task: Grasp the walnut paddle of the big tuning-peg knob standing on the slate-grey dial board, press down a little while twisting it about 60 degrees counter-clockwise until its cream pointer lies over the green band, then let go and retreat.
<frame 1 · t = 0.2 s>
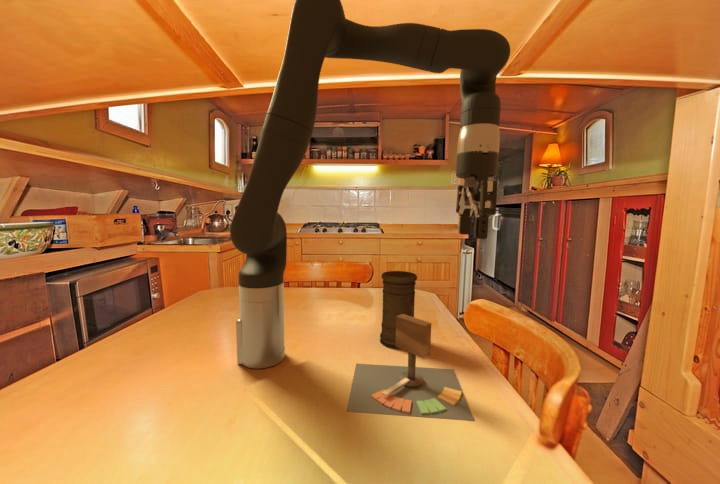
hand: (471, 236, 60), 28 cm above the table, fingers open, 8 cm apart
dial board: (406, 393, 55), on the table
container: (397, 346, 75), on the table
peg knob: (403, 355, 54), point 7 cm above the table, hinge at 0.0°
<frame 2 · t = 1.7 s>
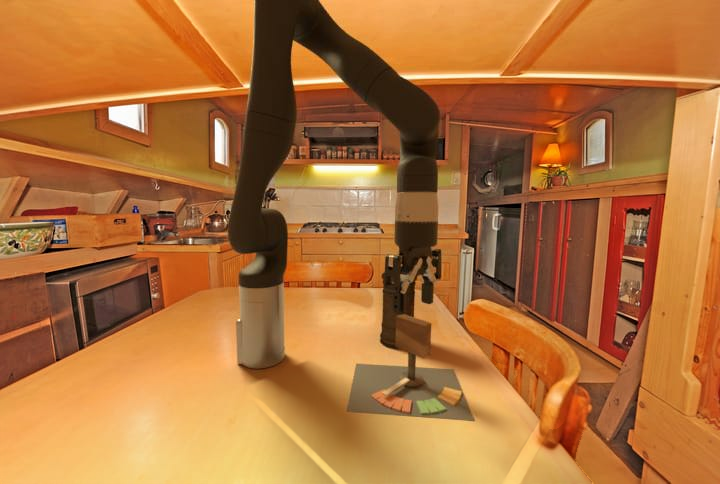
hand: (414, 308, 55), 16 cm above the table, fingers open, 8 cm apart
nothing on the table moved.
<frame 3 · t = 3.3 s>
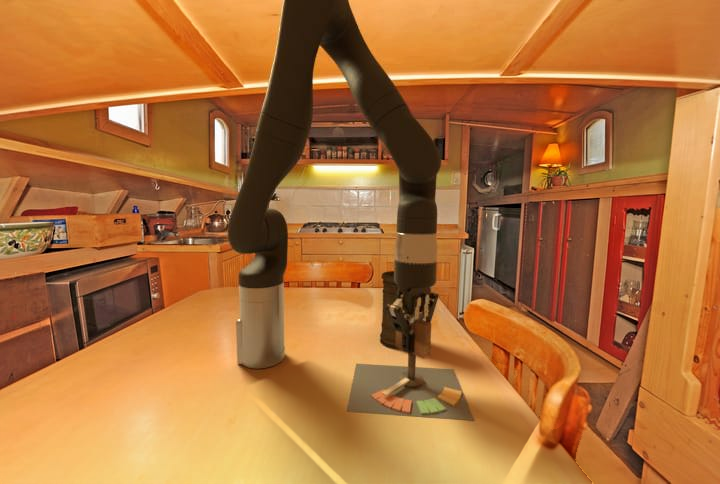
hand: (412, 349, 56), 8 cm above the table, fingers closed on peg knob, 2 cm apart
peg knob: (403, 355, 54), point 7 cm above the table, hinge at 0.0°, touching gripper
everything else where it was.
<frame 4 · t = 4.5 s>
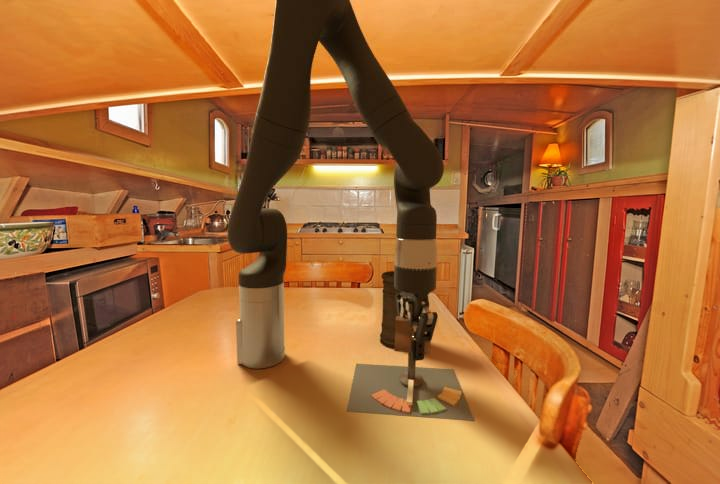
hand: (413, 353, 56), 7 cm above the table, fingers closed on peg knob, 3 cm apart
peg knob: (411, 357, 53), point 7 cm above the table, hinge at 33.4°, touching gripper
everything else where it was.
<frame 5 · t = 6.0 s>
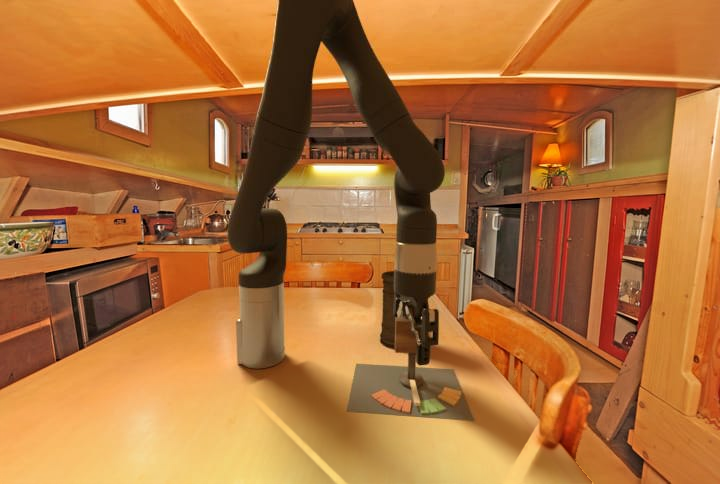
hand: (412, 352, 56), 7 cm above the table, fingers open, 8 cm apart
peg knob: (414, 357, 53), point 7 cm above the table, hinge at 43.0°
everything else where it was.
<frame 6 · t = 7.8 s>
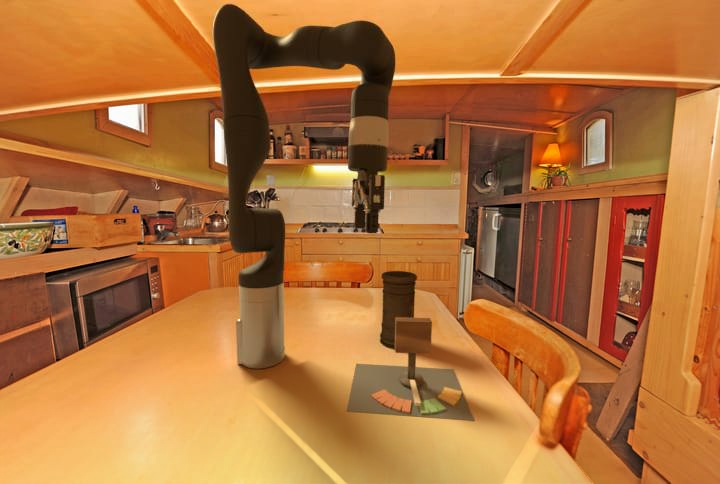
hand: (365, 230, 60), 29 cm above the table, fingers open, 8 cm apart
peg knob: (414, 357, 53), point 7 cm above the table, hinge at 43.6°
everything else where it was.
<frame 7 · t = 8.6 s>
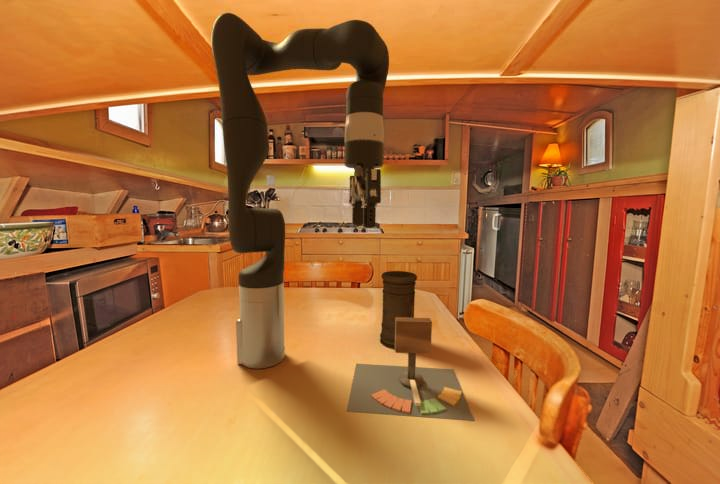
hand: (362, 226, 60), 30 cm above the table, fingers open, 8 cm apart
nothing on the table moved.
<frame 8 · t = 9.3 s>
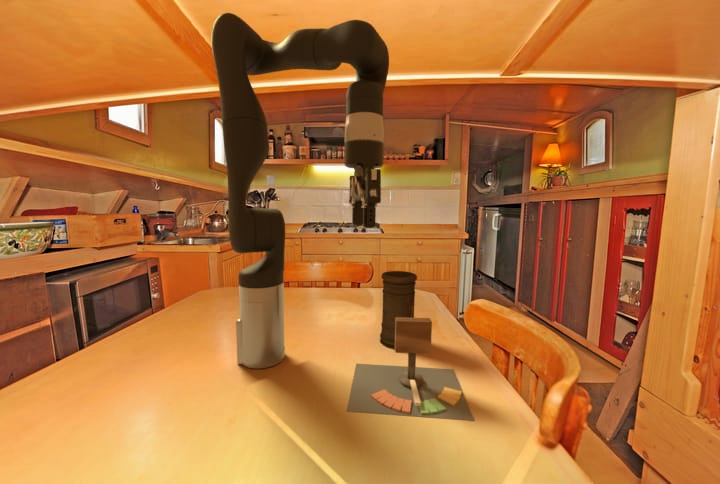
hand: (362, 226, 60), 30 cm above the table, fingers open, 8 cm apart
nothing on the table moved.
at the end: peg knob at +44° (first picture: +0°); the gripper is holding nothing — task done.
